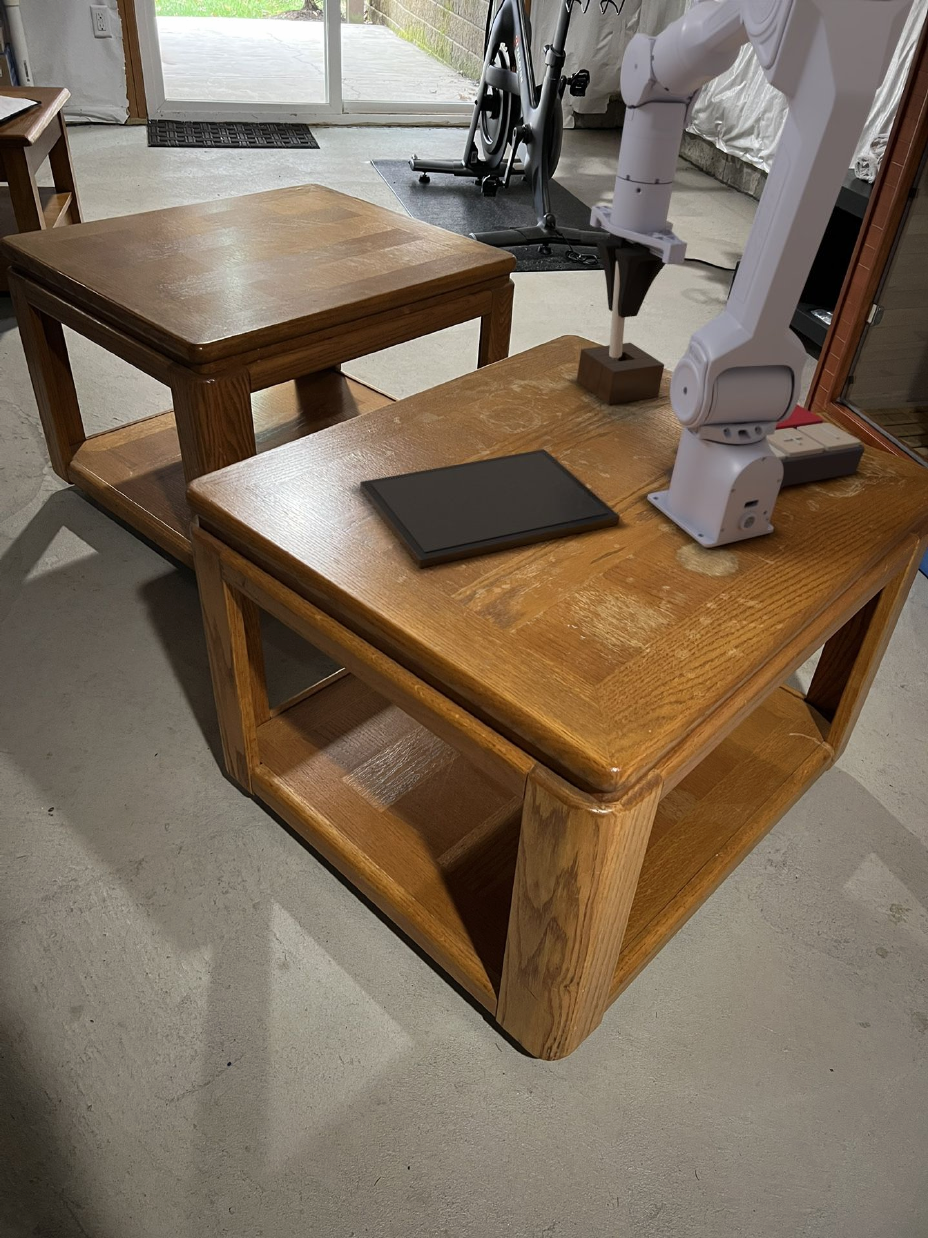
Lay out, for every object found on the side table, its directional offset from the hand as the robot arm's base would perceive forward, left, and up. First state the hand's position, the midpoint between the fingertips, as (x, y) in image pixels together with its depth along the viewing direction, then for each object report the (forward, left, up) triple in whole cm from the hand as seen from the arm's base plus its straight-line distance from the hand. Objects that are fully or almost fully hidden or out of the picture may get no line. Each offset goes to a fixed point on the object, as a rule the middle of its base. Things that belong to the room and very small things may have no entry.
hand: (622, 312), depth 101 cm
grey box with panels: (-18, -8, -11) cm, 23 cm away
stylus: (0, 0, -5) cm, 5 cm away
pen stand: (+3, -3, -10) cm, 11 cm away
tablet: (-16, +24, -10) cm, 31 cm away
